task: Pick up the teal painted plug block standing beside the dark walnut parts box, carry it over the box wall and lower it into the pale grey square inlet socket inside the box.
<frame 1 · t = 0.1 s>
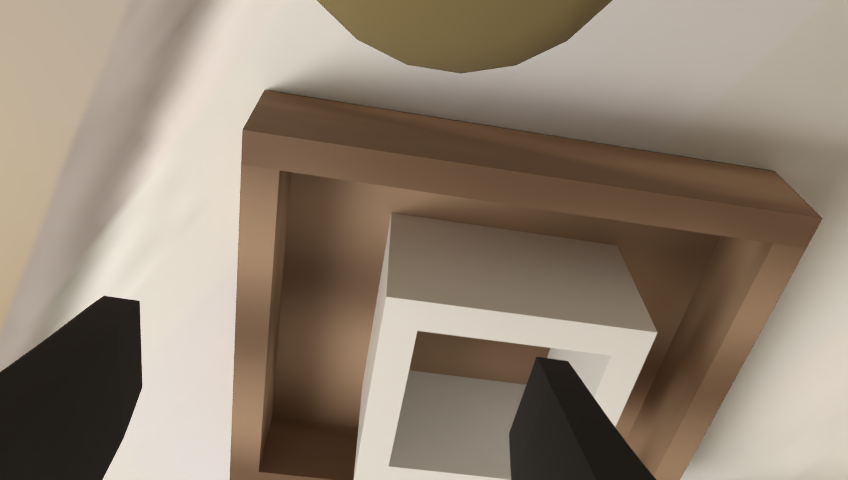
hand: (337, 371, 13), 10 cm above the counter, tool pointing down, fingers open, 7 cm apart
parts box: (480, 312, 25), on the counter
inlet: (481, 319, 24), resting on parts box
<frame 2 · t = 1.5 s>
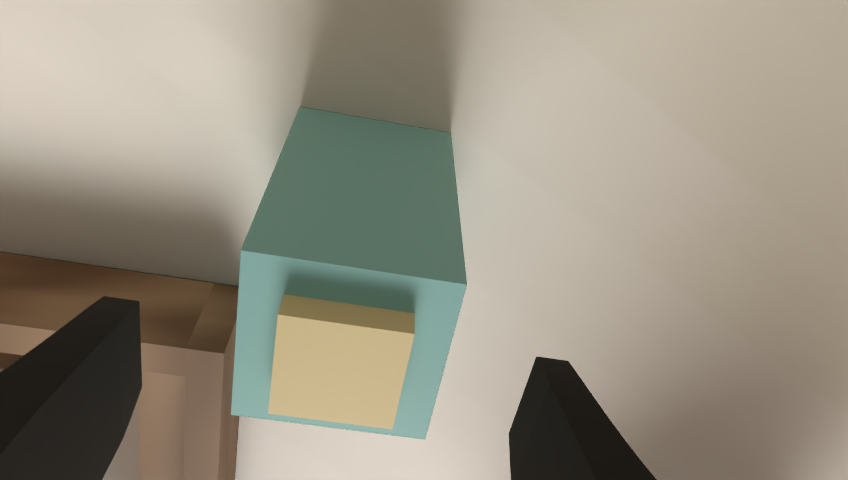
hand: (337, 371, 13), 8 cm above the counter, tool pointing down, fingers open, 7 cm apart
parts box: (33, 442, 24), on the counter
inlet: (28, 451, 24), resting on parts box
plug: (365, 186, 19), on the counter
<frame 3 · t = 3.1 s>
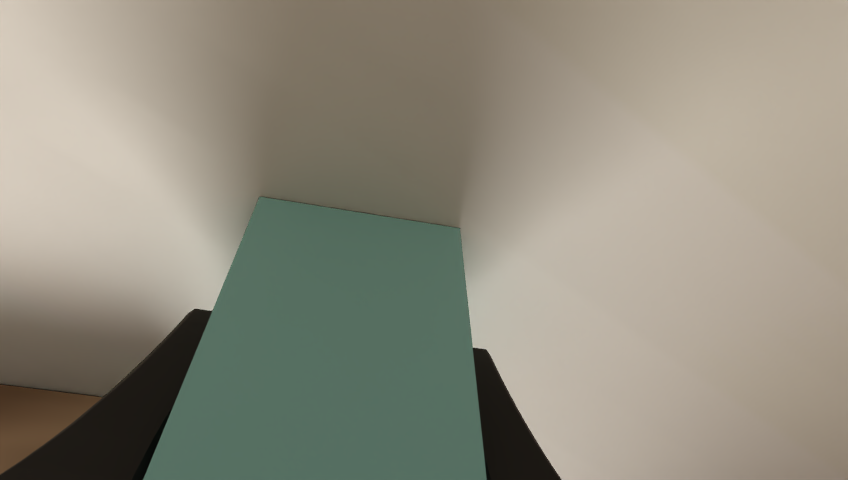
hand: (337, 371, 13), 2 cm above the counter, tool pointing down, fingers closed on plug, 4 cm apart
plug: (348, 293, 15), on the counter, touching gripper
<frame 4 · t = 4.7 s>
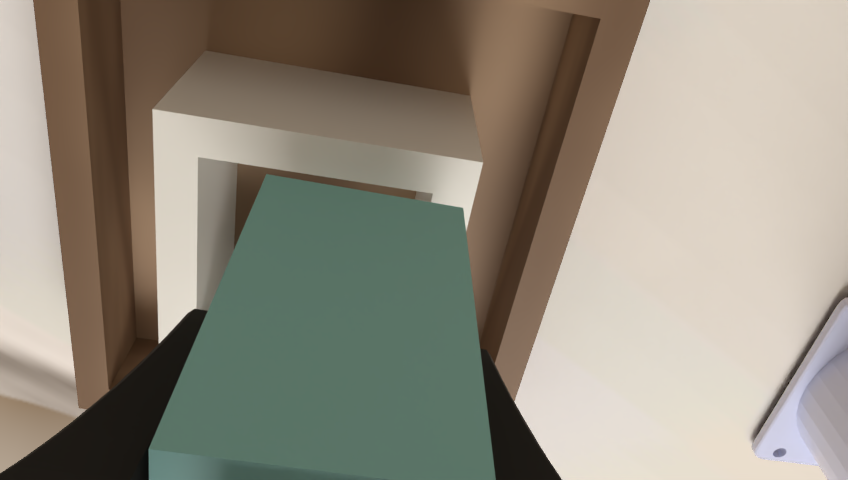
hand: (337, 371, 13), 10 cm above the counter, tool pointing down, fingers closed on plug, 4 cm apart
parts box: (328, 184, 22), on the counter
inlet: (326, 190, 21), resting on parts box
plug: (352, 272, 15), point 7 cm above the counter, touching gripper
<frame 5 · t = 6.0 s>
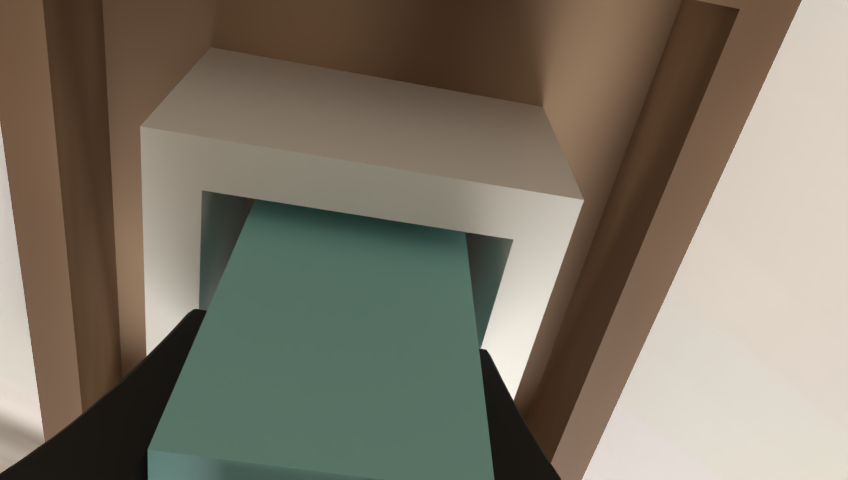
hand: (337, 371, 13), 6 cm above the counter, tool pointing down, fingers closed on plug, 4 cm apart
parts box: (359, 213, 18), on the counter
inlet: (358, 220, 17), resting on parts box
plug: (351, 272, 15), point 3 cm above the counter, touching gripper
when the fingers open (6 cm above the counter, at t = 6.6 s): plug drops 3 cm, resting on parts box.
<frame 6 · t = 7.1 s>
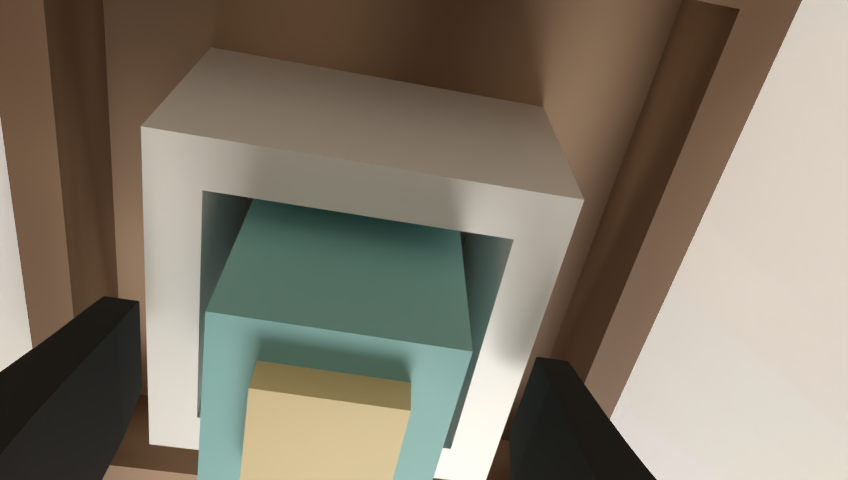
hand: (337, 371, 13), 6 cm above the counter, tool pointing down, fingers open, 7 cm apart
parts box: (359, 213, 18), on the counter
inlet: (358, 220, 17), resting on parts box
plug: (356, 215, 17), resting on parts box
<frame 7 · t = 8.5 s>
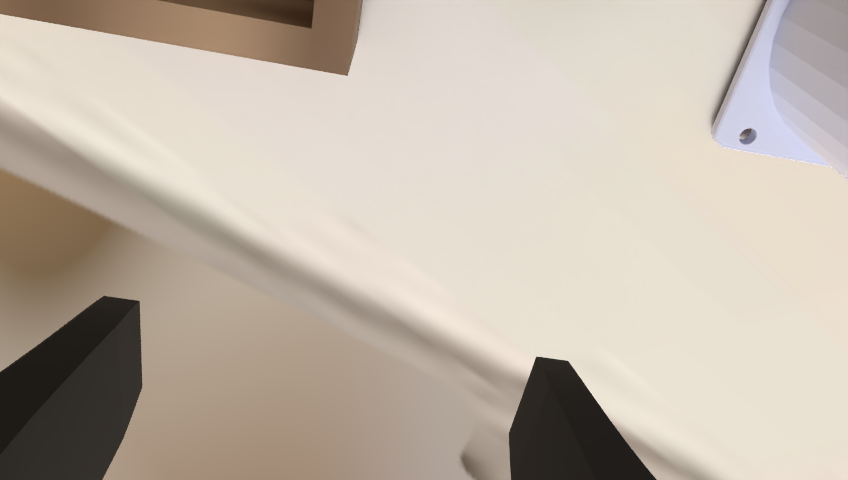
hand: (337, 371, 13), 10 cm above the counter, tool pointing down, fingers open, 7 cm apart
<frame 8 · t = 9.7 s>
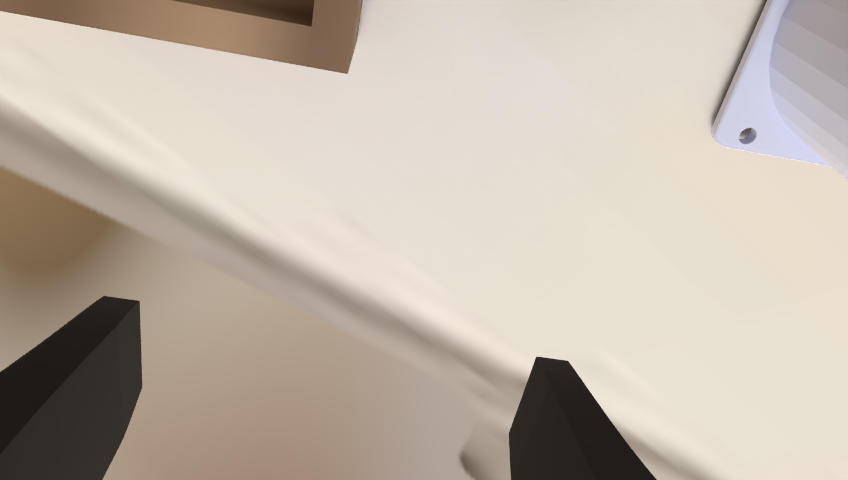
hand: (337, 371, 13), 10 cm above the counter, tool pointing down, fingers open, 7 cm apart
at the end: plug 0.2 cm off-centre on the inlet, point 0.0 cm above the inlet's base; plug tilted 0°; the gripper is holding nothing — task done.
